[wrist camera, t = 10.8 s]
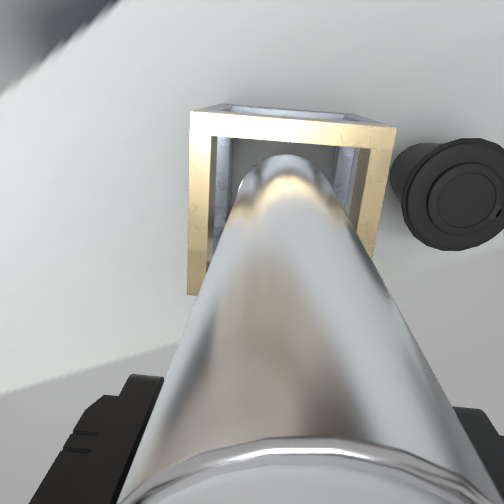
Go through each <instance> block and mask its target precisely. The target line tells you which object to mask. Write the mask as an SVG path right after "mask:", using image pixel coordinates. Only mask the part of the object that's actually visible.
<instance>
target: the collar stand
mask: <svg viewBox="0 0 504 504" xmlns="http://www.w3.org/2000/svg"><path fill="white" fill-rule="evenodd" d="M396 131H397V128H395V127H392V126H389V125H386V124H383V123H380V122H376V121H373V120H370V119H367V118H364V117H360V116H357V115H354V114H344V113H331V112H319V111H306V110H293V109H281V108H268V107H256V106H243V105H230V104H219V105H215V106H211V107H207V108H202V109H198V110H194V111H190V155H189V212H188V269H187V295H194V296H198V294H199V291H200V289H201V286H202V284H203V281H204V279H205V276H206V273H207V271H208V268H209V266H210V263H211V261H212V258H213V256H214V253H215V250H216V248H217V245H218V243H219V240H220V238H221V235H222V233H223V230H224V227H225V225H226V222H227V220H228V217H229V211H230V192H231V174H232V156H233V138H234V137H235V138H247V139H259V140H272V141H284V142H296V143H308V144H321V145H333V146H335V147H334V154H333V161H332V168H331V175H330V182H329V183H330V185H331V187H332V188H333V190H334V192H335V194H336V196H337V198H338V199H339V201H340V203H341V205H342V207H343V208H344V210H345V206H346V200H347V193H348V187H349V181H350V175H351V168H352V162H353V156H354V149H355V147H358V148H360V152H359V158H358V164H357V170H356V176H355V182H354V189H353V195H352V201H351V207H350V213H349V219H350V221H351V223H352V225H353V227H354V228H355V230H356V232H357V234H358V236H359V238H360V239H361V241H362V243H363V245H364V247H365V249H366V250H367V252H368V254H369V256H370V258H371V259H372V256H373V251H374V245H375V240H376V235H377V230H378V225H379V219H380V214H381V209H382V204H383V199H384V193H385V188H386V183H387V178H388V173H389V168H390V162H391V157H392V152H393V147H394V142H395V136H396Z"/></svg>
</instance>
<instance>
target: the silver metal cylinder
mask: <svg viewBox="0 0 504 504" xmlns="http://www.w3.org/2000/svg"><path fill="white" fill-rule="evenodd" d="M117 504H504V500H503V498H502V496H501V494H500V493H499V491H498V489H497V487H496V485H495V484H494V482H493V480H492V478H491V476H490V474H489V473H488V471H487V469H486V467H485V465H484V463H483V462H482V460H481V458H480V456H479V454H478V453H477V451H476V449H475V447H474V445H473V443H472V442H471V440H470V438H469V436H468V434H467V433H466V431H465V429H464V427H463V425H462V423H461V422H460V420H459V418H458V416H457V414H456V412H455V411H454V409H453V407H452V405H451V404H450V402H449V400H448V398H447V396H446V394H445V393H444V391H443V389H442V387H441V385H440V383H439V382H438V380H437V378H436V376H435V374H434V372H433V371H432V369H431V367H430V365H429V363H428V361H427V360H426V358H425V356H424V354H423V353H422V351H421V349H420V347H419V345H418V343H417V341H416V340H415V338H414V336H413V334H412V332H411V331H410V329H409V327H408V325H407V323H406V321H405V320H404V318H403V316H402V314H401V312H400V310H399V309H398V307H397V305H396V303H395V301H394V300H393V298H392V296H391V294H390V292H389V290H388V289H387V287H386V285H385V283H384V281H383V279H382V278H381V276H380V274H379V272H378V270H377V269H376V267H375V265H374V263H373V261H372V259H371V258H370V256H369V254H368V252H367V250H366V249H365V247H364V245H363V243H362V241H361V239H360V238H359V236H358V234H357V232H356V230H355V228H354V227H353V225H352V223H351V221H350V219H349V218H348V216H347V214H346V212H345V210H344V208H343V207H342V205H341V203H340V201H339V199H338V198H337V196H336V194H335V192H334V190H333V188H332V187H331V185H330V183H329V181H328V180H327V178H326V176H325V175H324V173H323V171H321V170H320V169H319V168H318V167H317V166H316V165H315V164H314V163H313V162H311V161H309V160H307V159H305V158H303V157H300V156H295V155H290V154H286V155H275V156H272V157H269V158H266V159H263V160H262V161H260V162H259V163H257V164H256V165H254V166H253V167H252V168H251V169H250V170H249V171H248V173H247V174H246V175H245V176H244V178H243V180H242V182H241V184H240V186H239V190H238V194H237V197H236V199H235V202H234V204H233V207H232V210H231V212H230V215H229V217H228V220H227V222H226V225H225V227H224V230H223V233H222V235H221V238H220V240H219V243H218V245H217V248H216V250H215V253H214V256H213V258H212V261H211V263H210V266H209V268H208V271H207V273H206V276H205V279H204V281H203V284H202V286H201V289H200V291H199V294H198V297H197V299H196V302H195V304H194V307H193V309H192V312H191V314H190V317H189V320H188V322H187V325H186V327H185V330H184V332H183V335H182V337H181V340H180V343H179V345H178V348H177V350H176V353H175V355H174V358H173V360H172V363H171V366H170V368H169V371H168V373H167V376H166V378H165V381H164V383H163V386H162V389H161V391H160V394H159V396H158V399H157V401H156V404H155V407H154V409H153V412H152V414H151V417H150V419H149V422H148V424H147V427H146V430H145V432H144V435H143V437H142V440H141V442H140V445H139V447H138V450H137V453H136V455H135V458H134V460H133V463H132V465H131V468H130V470H129V473H128V476H127V478H126V481H125V483H124V486H123V488H122V491H121V493H120V496H119V499H118V501H117Z"/></svg>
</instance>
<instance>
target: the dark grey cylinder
mask: <svg viewBox="0 0 504 504" xmlns="http://www.w3.org/2000/svg"><path fill="white" fill-rule="evenodd" d="M390 181H391V186H392V188H393V190H394V192H395V194H396V195H397V197H398V199H399V201H400V202H401V207H402V212H403V217H404V221H405V223H406V225H407V227H408V228H409V230H410V231H411V233H412V234H413V236H414V237H416V238H417V239H418V240H420V241H421V242H422V243H424V244H425V245H426V246H429V247H432V248H436V249H439V250H442V251H461V250H465V249H469V248H472V247H476V246H479V245H481V244H483V243H485V242H487V241H489V240H490V239H492V238H493V237H495V236H496V235H497V234H498V233H499V232H501V231H502V230H503V229H504V149H503V148H502V147H501V146H500V145H498V144H496V143H493V142H490V141H487V140H484V139H481V138H461V139H458V140H454V141H451V142H448V143H445V144H417V145H413V146H410V147H409V148H407V149H406V150H404V151H403V152H401V153H400V155H399V156H398V157H397V158H396V159H395V161H394V163H393V165H392V168H391V173H390Z"/></svg>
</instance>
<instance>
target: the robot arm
mask: <svg viewBox="0 0 504 504" xmlns="http://www.w3.org/2000/svg"><path fill="white" fill-rule="evenodd" d="M163 383H164V378H163V377H158V376H147V375H138V374H131V375H130V376H129V378H128V379H127V381H126V383H125V385H124V387H123V389H122V391H121V393H120V395H119V396H111V395H103V396H102V397H101V398H100V399H98V400H97V401H96V402H95V403H93V404H92V405H91V406H90V407H88V408H87V409H86V410H85V411H84V413H83V415H82V416H81V418H80V420H79V421H78V423H77V425H76V426H75V428H74V430H73V434H71V435H70V436H69V438H68V439H67V441H66V443H65V445H64V446H63V450H62V451H60V453H59V454H58V456H57V458H56V459H55V461H54V463H53V464H52V466H51V468H50V469H49V471H48V473H47V474H46V476H45V478H44V479H43V481H42V483H41V484H40V486H39V488H38V489H37V491H36V493H35V494H34V496H33V497H32V499H31V501H30V503H29V504H117V501H118V499H119V496H120V493H121V491H122V488H123V486H124V483H125V481H126V478H127V476H128V473H129V470H130V468H131V465H132V463H133V460H134V458H135V455H136V453H137V450H138V447H139V445H140V442H141V440H142V437H143V435H144V432H145V430H146V427H147V424H148V422H149V419H150V417H151V414H152V412H153V409H154V407H155V404H156V401H157V399H158V396H159V394H160V391H161V389H162V386H163ZM452 407H453V406H452ZM453 409H454V411H455V412H456V414H457V416H458V418H459V420H460V422H461V423H462V425H463V427H464V429H465V431H466V433H467V434H468V436H469V438H470V440H471V442H472V443H473V445H474V447H475V449H476V451H477V453H478V454H479V456H480V458H481V460H482V462H483V463H484V465H485V467H486V469H487V471H488V473H489V474H490V476H491V478H492V480H493V482H494V484H495V485H496V487H497V489H498V491H499V493H500V494H501V496H502V498H503V500H504V436H500V435H499V434H498V432H497V431H496V429H495V428H494V426H493V425H492V423H491V421H490V420H489V418H488V417H487V415H486V414H485V413H484V412H483V411H482V410H480V409H473V408H463V407H453Z"/></svg>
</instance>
